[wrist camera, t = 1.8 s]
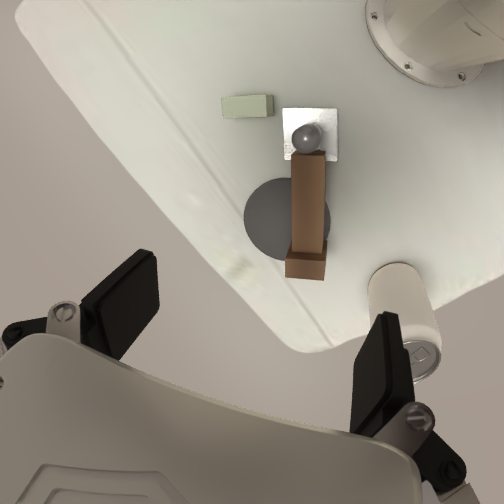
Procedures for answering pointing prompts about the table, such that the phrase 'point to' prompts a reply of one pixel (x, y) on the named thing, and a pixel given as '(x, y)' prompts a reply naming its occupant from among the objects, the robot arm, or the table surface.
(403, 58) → the robot arm
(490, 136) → the table surface
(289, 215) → the pad
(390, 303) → the can
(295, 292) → the table surface
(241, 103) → the block
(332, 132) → the ball knob on plate
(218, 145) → the table surface
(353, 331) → the table surface
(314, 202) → the bar
